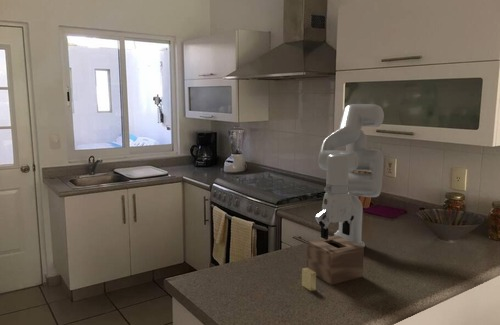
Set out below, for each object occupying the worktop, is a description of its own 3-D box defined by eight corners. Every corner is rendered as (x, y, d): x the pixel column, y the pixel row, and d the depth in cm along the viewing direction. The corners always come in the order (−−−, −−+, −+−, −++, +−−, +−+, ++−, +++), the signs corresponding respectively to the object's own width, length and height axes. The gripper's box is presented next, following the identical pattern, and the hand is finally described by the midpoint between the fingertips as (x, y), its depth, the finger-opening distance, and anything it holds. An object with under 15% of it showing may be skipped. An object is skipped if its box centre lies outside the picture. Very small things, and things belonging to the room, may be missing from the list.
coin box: (306, 270, 153) (307, 241, 151) (336, 263, 159) (337, 235, 158) (331, 284, 141) (332, 253, 139) (362, 276, 147) (364, 246, 146)
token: (301, 285, 140) (302, 268, 139) (306, 284, 141) (306, 267, 140) (310, 291, 136) (311, 273, 135) (315, 290, 137) (316, 272, 136)
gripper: (324, 193, 138) (322, 243, 141) (363, 188, 146) (361, 235, 149) (310, 189, 144) (309, 237, 147) (348, 184, 153) (346, 229, 155)
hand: (335, 236), depth 148 cm, fingers open, 9 cm apart
